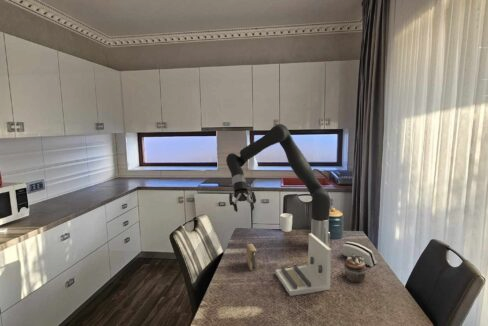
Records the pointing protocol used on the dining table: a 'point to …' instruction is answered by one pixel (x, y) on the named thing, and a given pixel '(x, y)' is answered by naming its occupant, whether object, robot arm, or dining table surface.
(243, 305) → the dining table surface
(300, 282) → the l-shaped angle bracket
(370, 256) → the white arched napkin holder
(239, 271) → the dining table surface
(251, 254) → the wooden block
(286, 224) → the white cup
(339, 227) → the canister
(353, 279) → the cupcake
